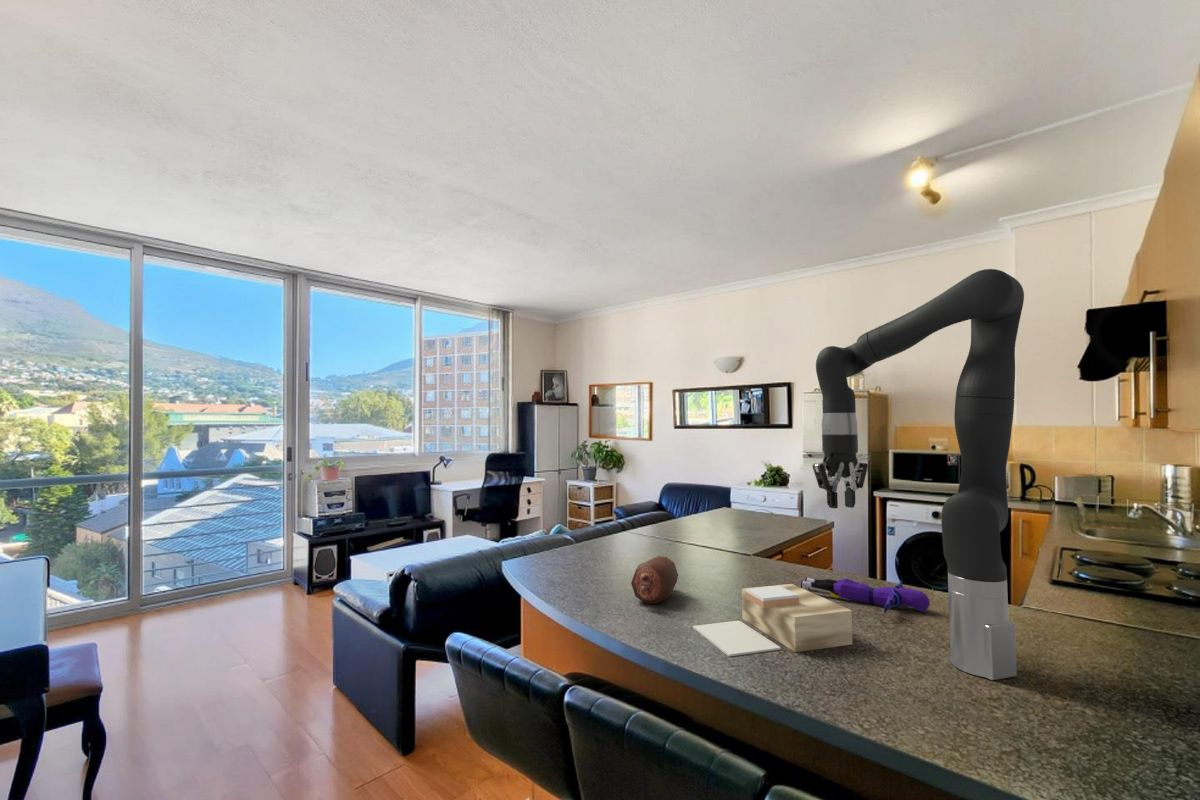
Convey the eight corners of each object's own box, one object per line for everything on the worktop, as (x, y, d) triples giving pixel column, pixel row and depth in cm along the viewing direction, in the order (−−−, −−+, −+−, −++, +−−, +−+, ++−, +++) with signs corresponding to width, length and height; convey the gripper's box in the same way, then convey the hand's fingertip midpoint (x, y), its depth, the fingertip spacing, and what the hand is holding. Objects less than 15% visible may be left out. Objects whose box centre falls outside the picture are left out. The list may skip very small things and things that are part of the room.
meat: (647, 586, 153) (647, 550, 154) (686, 591, 148) (686, 554, 149) (622, 606, 135) (622, 565, 136) (665, 612, 130) (665, 570, 131)
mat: (780, 649, 109) (780, 647, 109) (728, 656, 105) (728, 654, 105) (739, 622, 124) (739, 620, 124) (692, 627, 121) (692, 625, 121)
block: (852, 644, 111) (851, 610, 112) (795, 652, 107) (794, 617, 108) (792, 612, 130) (792, 583, 131) (742, 618, 127) (741, 588, 127)
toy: (788, 607, 137) (923, 632, 119) (788, 585, 137) (922, 606, 119) (817, 582, 159) (935, 600, 141) (817, 563, 159) (934, 579, 141)
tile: (799, 604, 116) (799, 594, 116) (763, 608, 113) (763, 598, 113) (779, 594, 122) (779, 585, 122) (745, 598, 120) (745, 589, 120)
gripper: (824, 433, 117) (826, 511, 116) (877, 432, 121) (879, 508, 120) (802, 432, 124) (804, 506, 123) (852, 432, 128) (854, 504, 127)
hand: (841, 507), depth 122 cm, fingers open, 4 cm apart
